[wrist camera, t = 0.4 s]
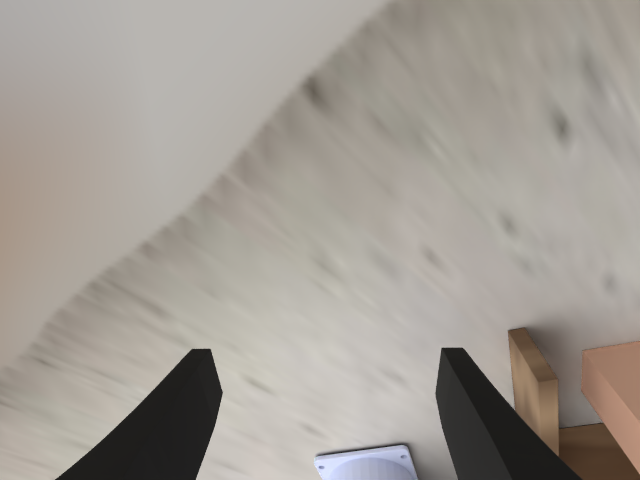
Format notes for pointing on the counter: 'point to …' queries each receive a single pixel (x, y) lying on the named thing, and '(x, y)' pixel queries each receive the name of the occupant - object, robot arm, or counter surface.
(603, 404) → the terracotta block
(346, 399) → the counter surface
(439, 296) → the counter surface
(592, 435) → the open-sided box
